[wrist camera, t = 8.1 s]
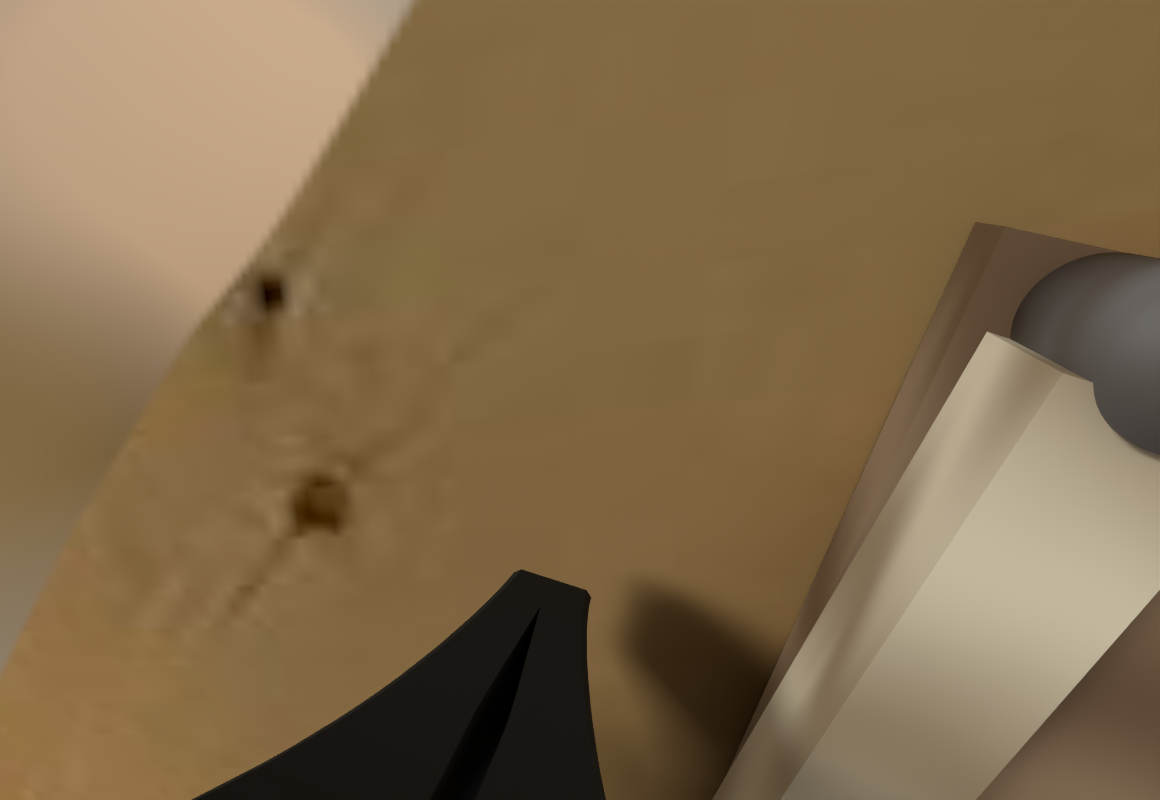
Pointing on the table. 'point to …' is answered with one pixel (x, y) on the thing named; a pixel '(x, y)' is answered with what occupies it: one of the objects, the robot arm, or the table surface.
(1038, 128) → the table surface
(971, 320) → the stool seat
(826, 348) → the table surface
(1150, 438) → the hinged leg
